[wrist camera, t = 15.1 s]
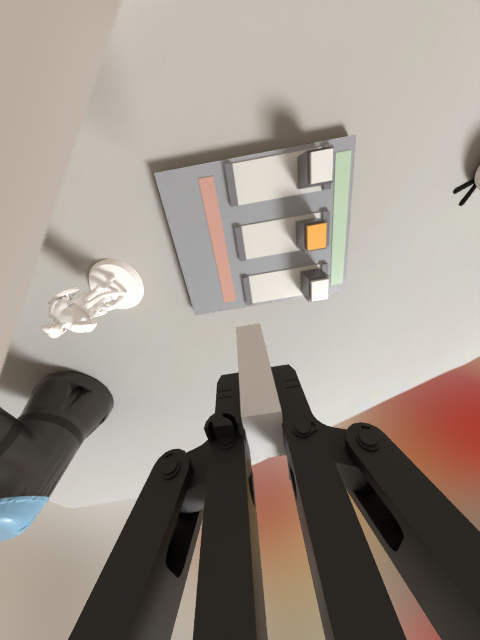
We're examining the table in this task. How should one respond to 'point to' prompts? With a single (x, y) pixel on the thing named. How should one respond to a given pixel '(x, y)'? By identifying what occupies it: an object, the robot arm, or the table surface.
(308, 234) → the breaker mid
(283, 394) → the robot arm
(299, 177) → the block
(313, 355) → the table surface
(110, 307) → the figurine
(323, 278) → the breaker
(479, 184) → the toy
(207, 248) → the panel
